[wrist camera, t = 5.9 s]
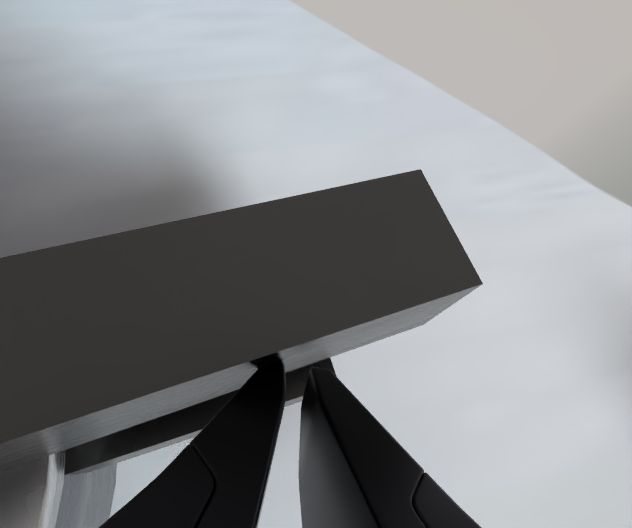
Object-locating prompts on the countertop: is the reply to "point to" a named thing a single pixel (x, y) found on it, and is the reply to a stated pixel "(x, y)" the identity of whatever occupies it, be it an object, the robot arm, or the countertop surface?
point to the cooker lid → (204, 315)
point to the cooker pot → (140, 452)
